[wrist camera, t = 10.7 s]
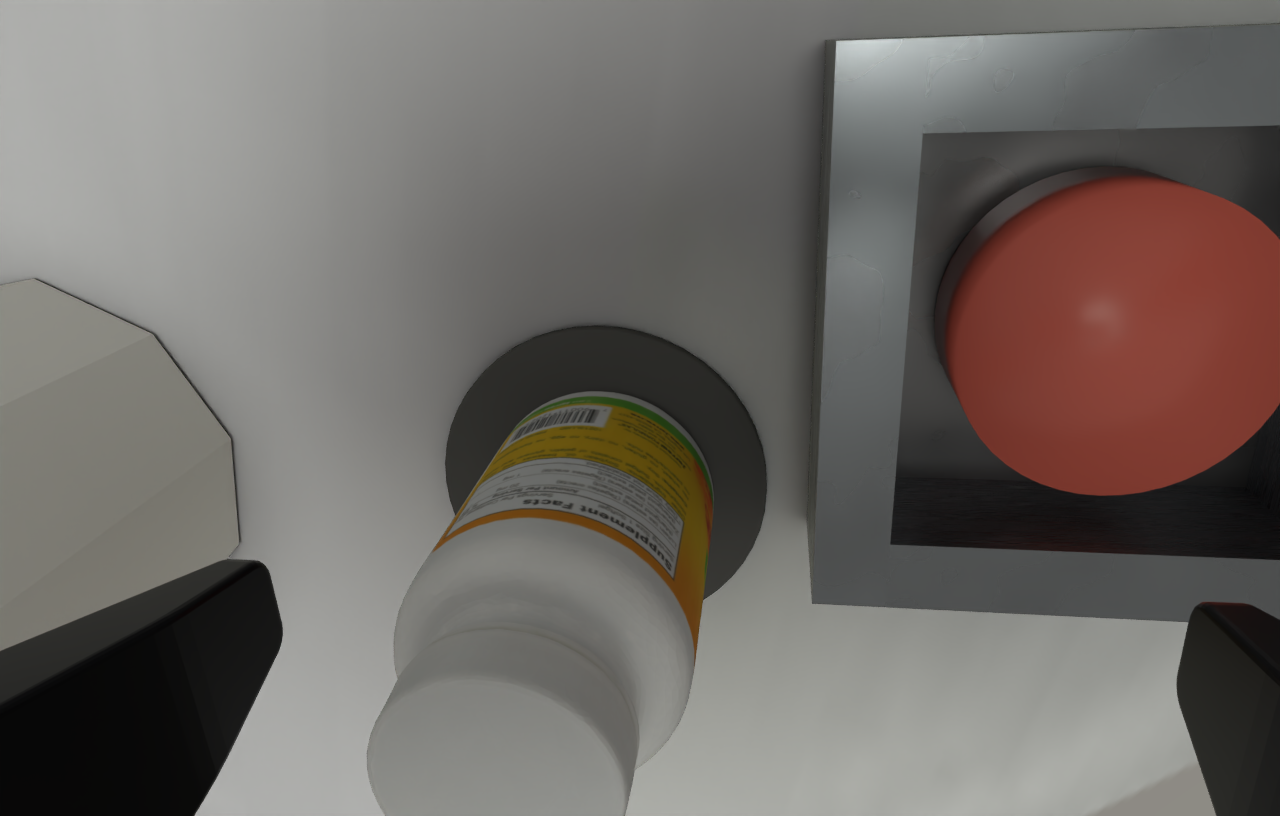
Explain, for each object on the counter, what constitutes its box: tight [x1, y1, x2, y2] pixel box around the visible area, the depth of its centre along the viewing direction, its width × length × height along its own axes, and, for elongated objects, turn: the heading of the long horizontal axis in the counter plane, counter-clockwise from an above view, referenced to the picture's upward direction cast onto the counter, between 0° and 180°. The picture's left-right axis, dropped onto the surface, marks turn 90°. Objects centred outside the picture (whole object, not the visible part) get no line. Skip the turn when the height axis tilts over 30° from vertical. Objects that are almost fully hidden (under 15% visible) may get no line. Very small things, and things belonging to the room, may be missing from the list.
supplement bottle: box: [367, 391, 714, 816], centre depth 18 cm, size 5×5×10 cm
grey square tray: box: [807, 23, 1280, 622], centre depth 18 cm, size 11×11×4 cm
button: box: [934, 166, 1280, 496], centre depth 18 cm, size 6×6×2 cm
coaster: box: [445, 326, 767, 600], centre depth 22 cm, size 8×8×1 cm
